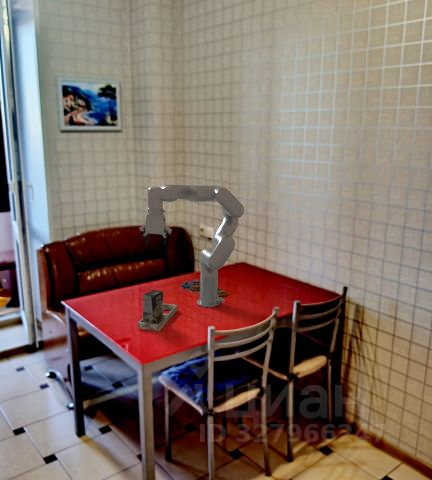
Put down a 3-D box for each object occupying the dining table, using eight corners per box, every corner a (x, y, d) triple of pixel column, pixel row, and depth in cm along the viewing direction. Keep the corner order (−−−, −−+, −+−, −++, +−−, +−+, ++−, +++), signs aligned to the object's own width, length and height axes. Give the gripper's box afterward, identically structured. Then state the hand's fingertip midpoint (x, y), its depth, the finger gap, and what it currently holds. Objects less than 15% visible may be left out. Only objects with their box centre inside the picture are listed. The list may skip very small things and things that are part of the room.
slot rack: (177, 310, 245) (177, 305, 244) (159, 331, 219) (159, 325, 218) (158, 308, 247) (158, 302, 246) (137, 328, 222) (137, 322, 221)
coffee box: (153, 328, 222) (153, 296, 218) (142, 325, 224) (142, 294, 220) (163, 321, 230) (163, 291, 226) (153, 318, 232) (152, 288, 228)
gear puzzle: (233, 294, 272) (233, 287, 271) (215, 301, 260) (215, 294, 259) (195, 282, 292) (195, 276, 291) (177, 288, 280) (177, 281, 279)
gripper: (174, 211, 233) (174, 244, 237) (142, 209, 237) (142, 241, 241) (168, 214, 226) (169, 247, 230) (136, 211, 230) (137, 244, 234)
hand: (155, 244), depth 236 cm, fingers open, 9 cm apart
